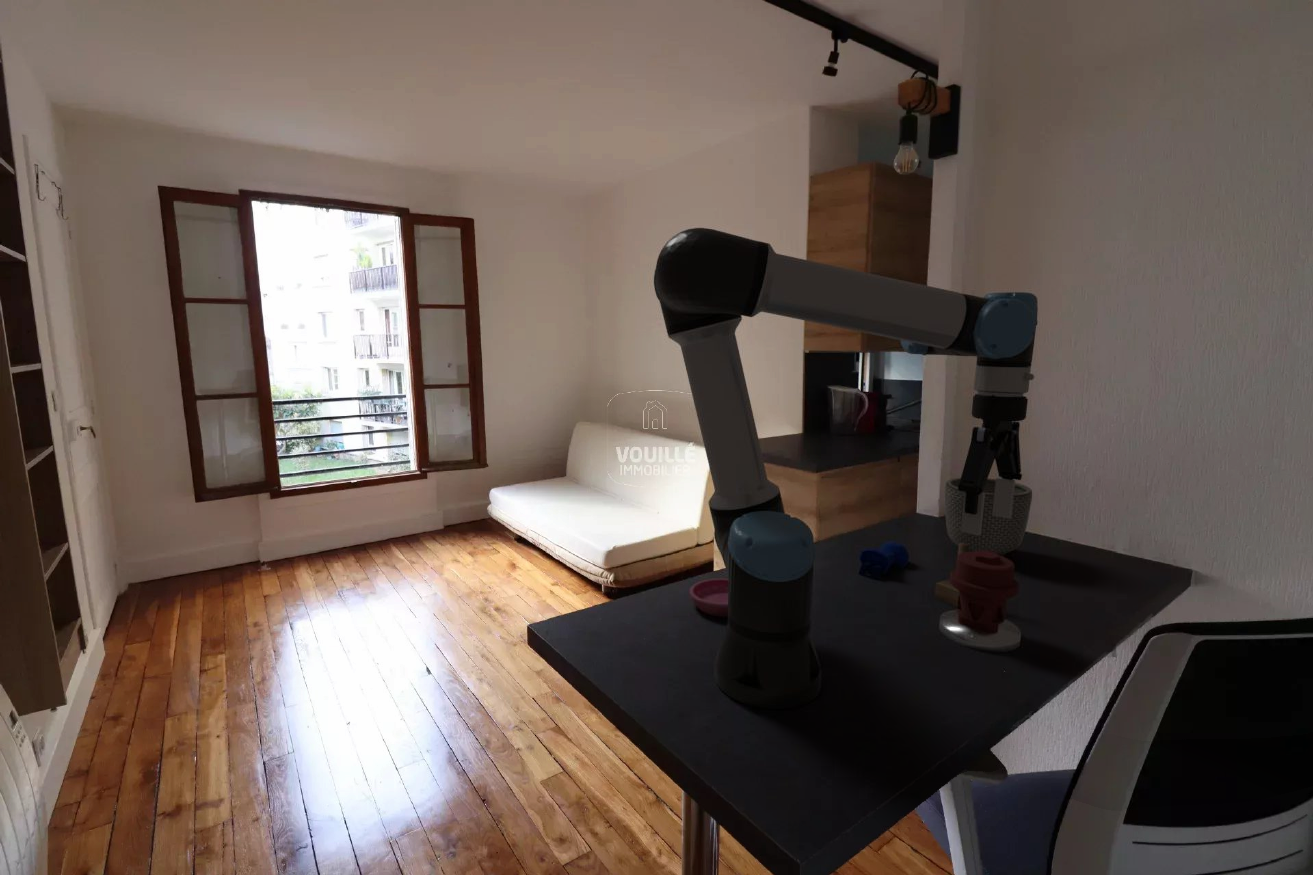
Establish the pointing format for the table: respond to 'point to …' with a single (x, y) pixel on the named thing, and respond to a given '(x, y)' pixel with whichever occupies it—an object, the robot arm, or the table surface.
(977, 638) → the grey round disc
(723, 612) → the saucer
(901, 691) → the table surface
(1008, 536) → the planter
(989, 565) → the mechanical component
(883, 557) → the toy
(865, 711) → the table surface
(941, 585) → the brown wooden peg block
